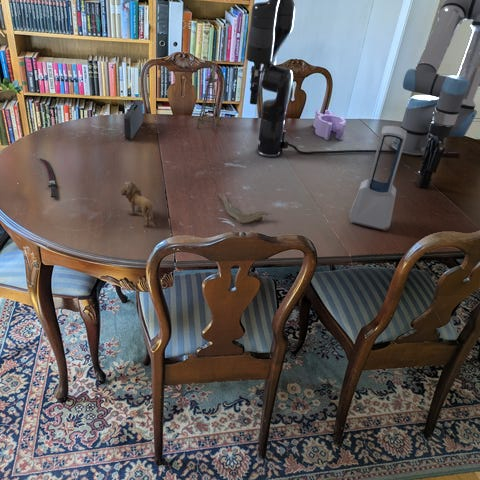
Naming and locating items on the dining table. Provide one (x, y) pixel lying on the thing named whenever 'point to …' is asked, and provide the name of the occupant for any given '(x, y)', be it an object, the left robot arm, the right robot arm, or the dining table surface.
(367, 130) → the dining table surface
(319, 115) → the clip
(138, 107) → the handheld gaming console
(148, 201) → the lion figurine
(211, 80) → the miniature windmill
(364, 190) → the electronic device
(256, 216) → the jawbone
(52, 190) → the sword
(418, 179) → the block
